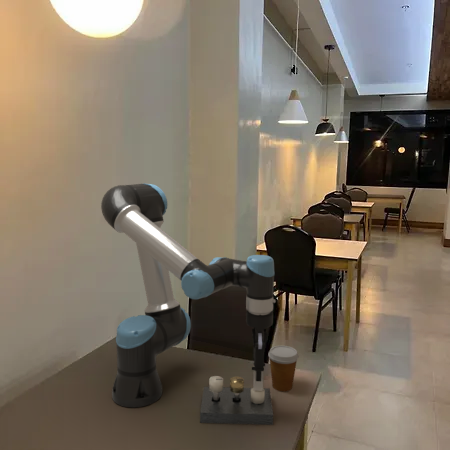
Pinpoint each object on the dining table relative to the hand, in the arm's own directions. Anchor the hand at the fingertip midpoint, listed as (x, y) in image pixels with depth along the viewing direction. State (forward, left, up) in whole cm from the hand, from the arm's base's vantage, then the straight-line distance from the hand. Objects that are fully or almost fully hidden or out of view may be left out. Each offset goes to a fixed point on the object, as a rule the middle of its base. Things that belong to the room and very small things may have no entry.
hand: (258, 389), depth 128 cm
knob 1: (-11, -4, -3) cm, 13 cm away
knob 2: (0, 0, -6) cm, 6 cm away
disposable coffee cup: (+3, +16, -7) cm, 18 cm away
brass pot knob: (-6, -2, -3) cm, 7 cm away
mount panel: (-6, -2, -7) cm, 9 cm away
